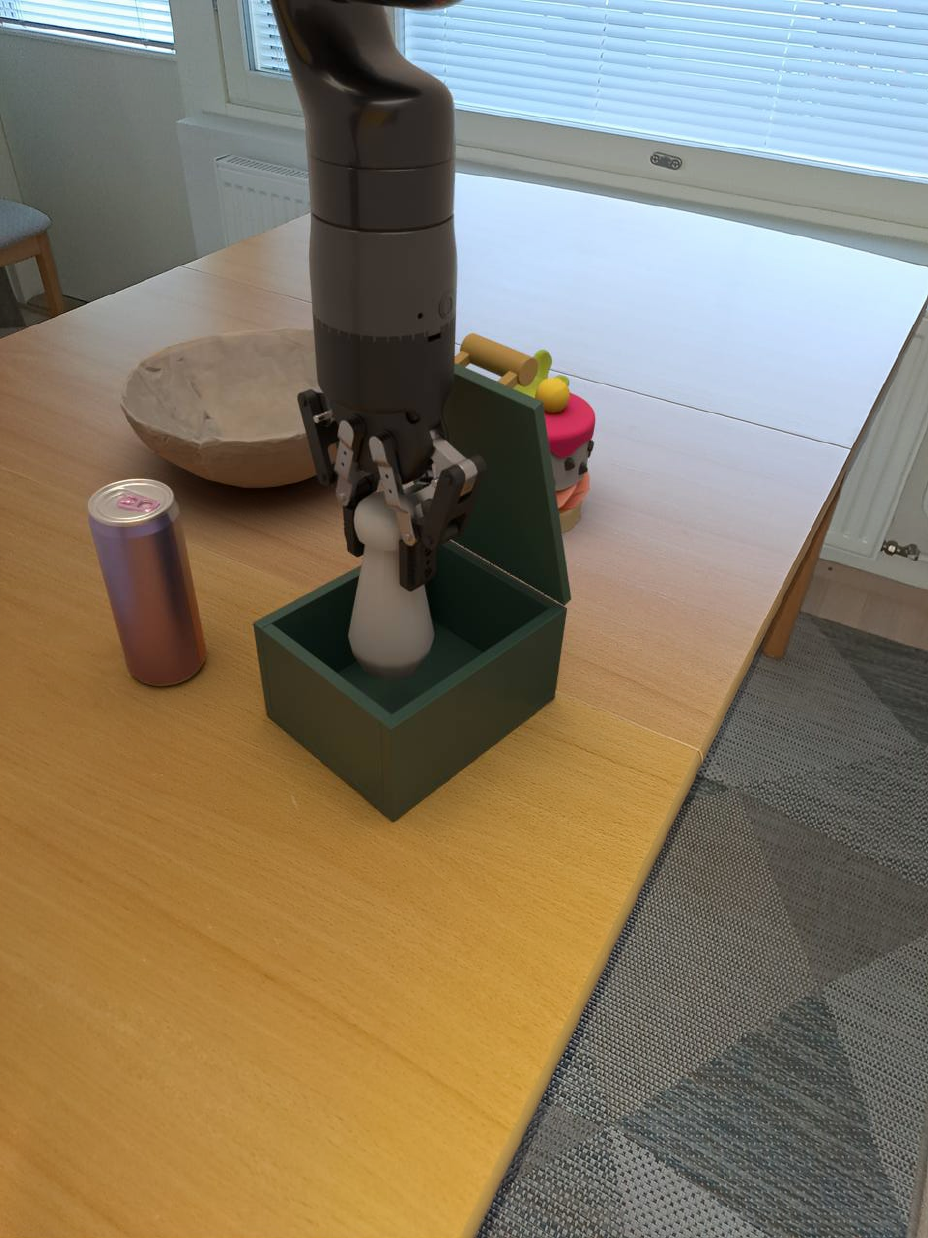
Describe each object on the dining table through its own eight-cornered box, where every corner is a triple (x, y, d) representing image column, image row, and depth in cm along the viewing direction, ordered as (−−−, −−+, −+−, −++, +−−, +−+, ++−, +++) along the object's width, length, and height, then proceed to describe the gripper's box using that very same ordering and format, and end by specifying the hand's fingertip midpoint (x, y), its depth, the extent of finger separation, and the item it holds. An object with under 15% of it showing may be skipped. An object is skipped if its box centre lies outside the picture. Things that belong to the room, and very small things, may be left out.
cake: (605, 511, 90) (627, 368, 81) (535, 553, 84) (550, 404, 75) (526, 471, 96) (538, 333, 86) (455, 508, 90) (460, 363, 80)
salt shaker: (442, 682, 62) (447, 523, 54) (359, 697, 61) (351, 535, 53) (421, 629, 66) (422, 473, 58) (343, 641, 65) (333, 483, 57)
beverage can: (180, 698, 68) (143, 531, 59) (112, 678, 70) (65, 512, 60) (222, 649, 73) (193, 486, 63) (156, 631, 74) (119, 469, 65)
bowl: (79, 496, 89) (53, 402, 83) (229, 388, 108) (218, 305, 102) (317, 561, 82) (309, 463, 76) (432, 434, 102) (433, 347, 95)
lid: (534, 409, 50) (593, 356, 52) (366, 334, 57) (423, 290, 59) (564, 606, 64) (610, 559, 65) (426, 526, 71) (471, 485, 73)
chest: (393, 823, 60) (391, 729, 54) (266, 715, 67) (252, 622, 62) (555, 698, 70) (567, 607, 64) (428, 615, 77) (430, 527, 71)
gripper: (243, 281, 49) (273, 543, 60) (428, 365, 42) (425, 647, 53) (349, 252, 53) (360, 502, 64) (535, 323, 46) (511, 592, 57)
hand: (389, 566), depth 58 cm, fingers closed on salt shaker, 4 cm apart
